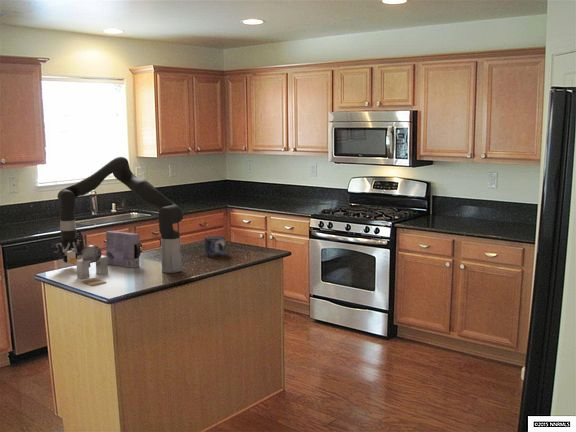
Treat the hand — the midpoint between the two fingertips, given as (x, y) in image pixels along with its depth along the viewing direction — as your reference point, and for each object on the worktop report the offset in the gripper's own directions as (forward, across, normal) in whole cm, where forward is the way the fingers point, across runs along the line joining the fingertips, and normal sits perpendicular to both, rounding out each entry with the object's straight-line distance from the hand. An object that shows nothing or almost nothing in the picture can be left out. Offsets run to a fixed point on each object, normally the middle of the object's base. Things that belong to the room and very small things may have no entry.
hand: (70, 261), depth 302 cm
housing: (+4, 0, +21) cm, 21 cm away
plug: (+1, 0, +7) cm, 7 cm away
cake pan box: (+4, -21, +16) cm, 27 cm away
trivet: (+4, +6, +32) cm, 33 cm away
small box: (+4, -68, +35) cm, 77 cm away
